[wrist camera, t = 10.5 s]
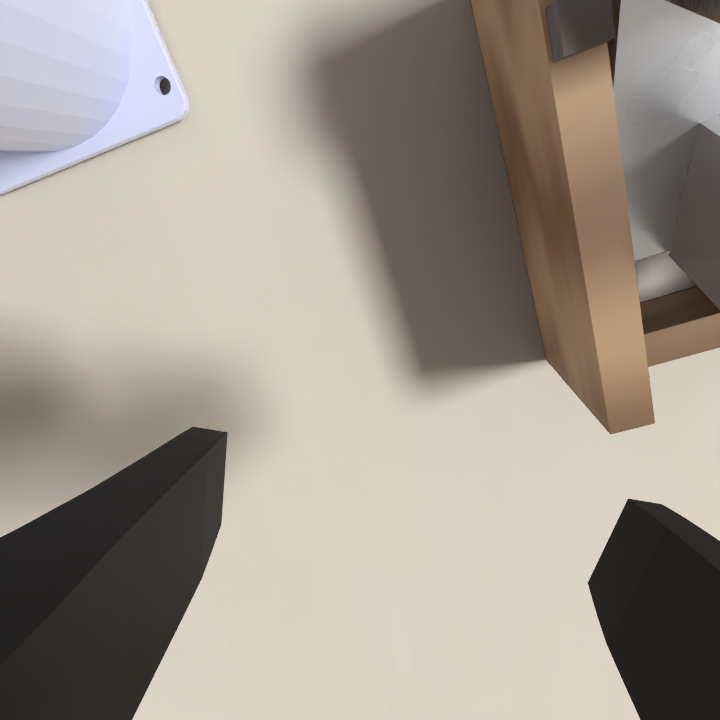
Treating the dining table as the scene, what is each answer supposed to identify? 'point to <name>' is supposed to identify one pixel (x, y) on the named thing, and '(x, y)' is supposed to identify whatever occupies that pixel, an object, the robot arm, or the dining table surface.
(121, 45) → the robot arm
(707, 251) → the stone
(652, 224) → the trapdoor
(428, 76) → the dining table surface
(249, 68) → the dining table surface
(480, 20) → the frame
